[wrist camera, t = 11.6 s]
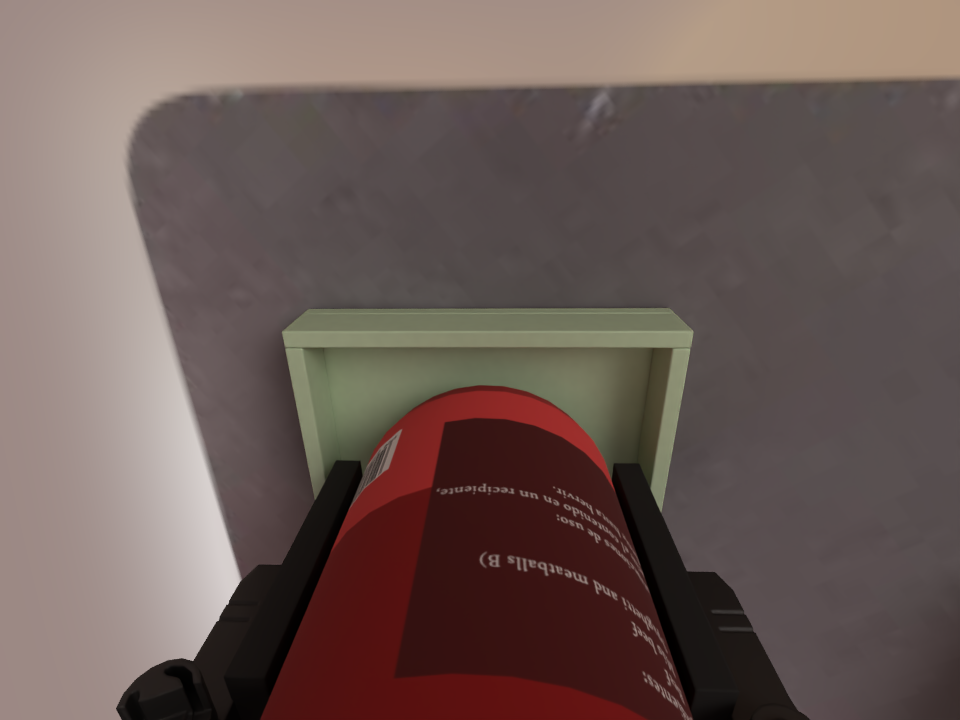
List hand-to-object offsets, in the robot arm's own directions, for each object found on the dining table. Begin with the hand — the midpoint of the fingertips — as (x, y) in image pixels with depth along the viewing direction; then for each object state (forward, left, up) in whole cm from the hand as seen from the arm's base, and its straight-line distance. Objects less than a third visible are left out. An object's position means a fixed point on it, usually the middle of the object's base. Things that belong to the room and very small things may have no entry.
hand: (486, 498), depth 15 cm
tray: (0, 0, -2) cm, 2 cm away
